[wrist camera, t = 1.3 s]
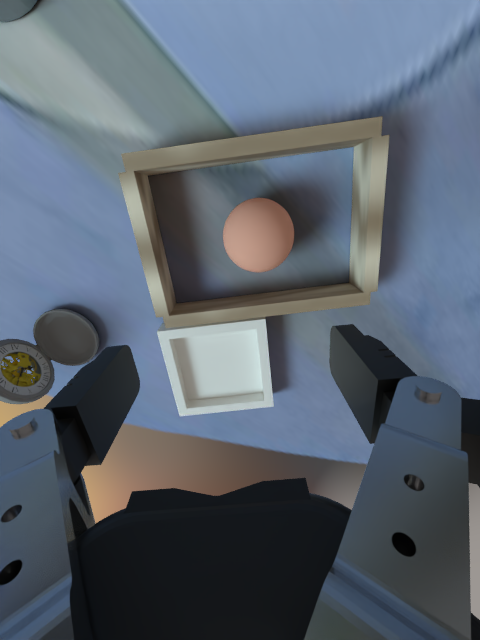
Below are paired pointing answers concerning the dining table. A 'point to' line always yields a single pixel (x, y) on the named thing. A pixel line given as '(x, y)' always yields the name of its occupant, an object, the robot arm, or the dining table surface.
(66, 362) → the pocket watch
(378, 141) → the beige rectangular frame
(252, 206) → the ball
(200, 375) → the dish
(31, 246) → the dining table surface
